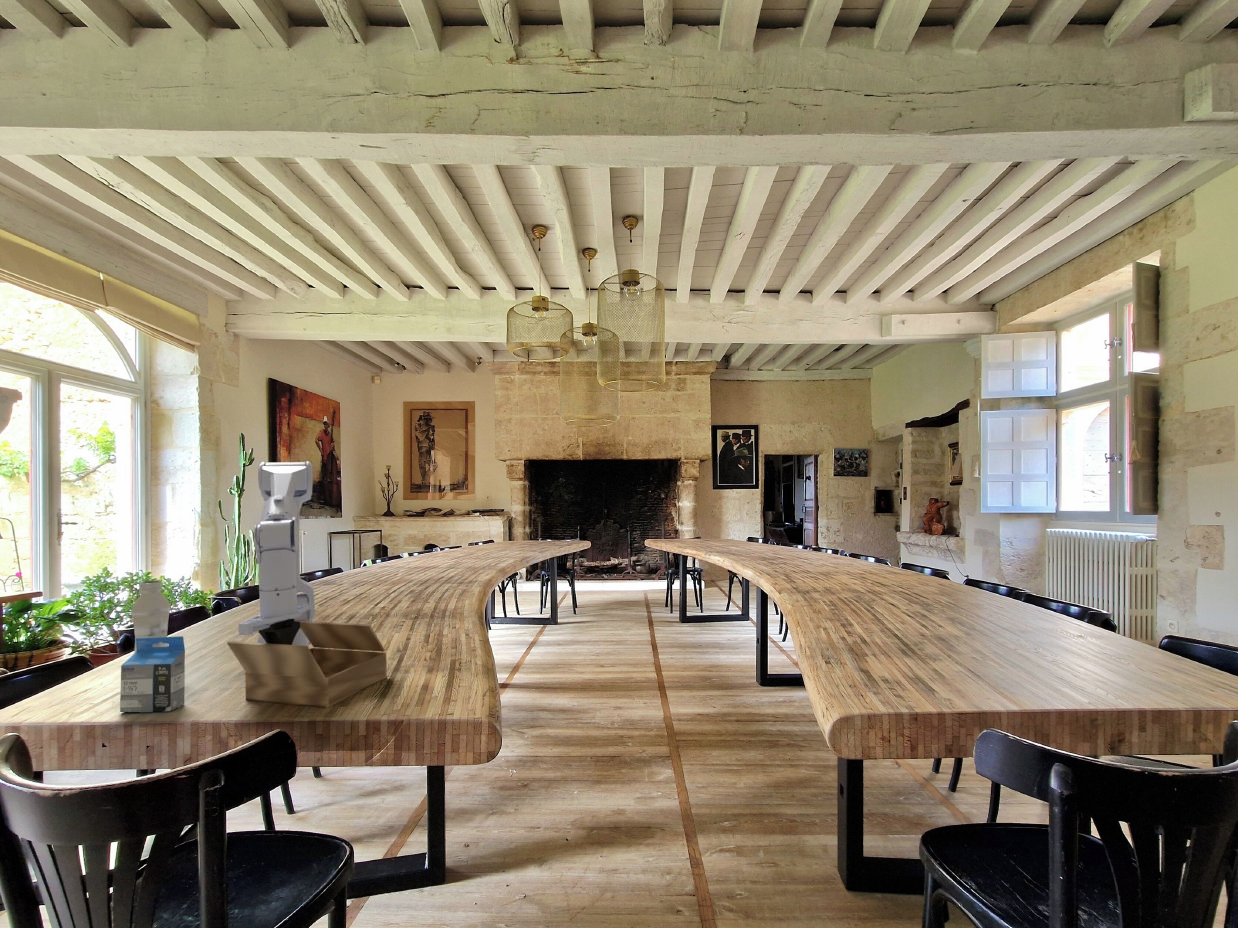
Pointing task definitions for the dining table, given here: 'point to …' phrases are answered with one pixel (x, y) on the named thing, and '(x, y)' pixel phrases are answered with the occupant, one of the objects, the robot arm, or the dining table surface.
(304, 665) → the flap near
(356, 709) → the dining table surface
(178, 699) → the label tape box
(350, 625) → the flap far
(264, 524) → the robot arm
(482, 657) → the dining table surface
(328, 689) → the carton
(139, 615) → the plastic bottle
